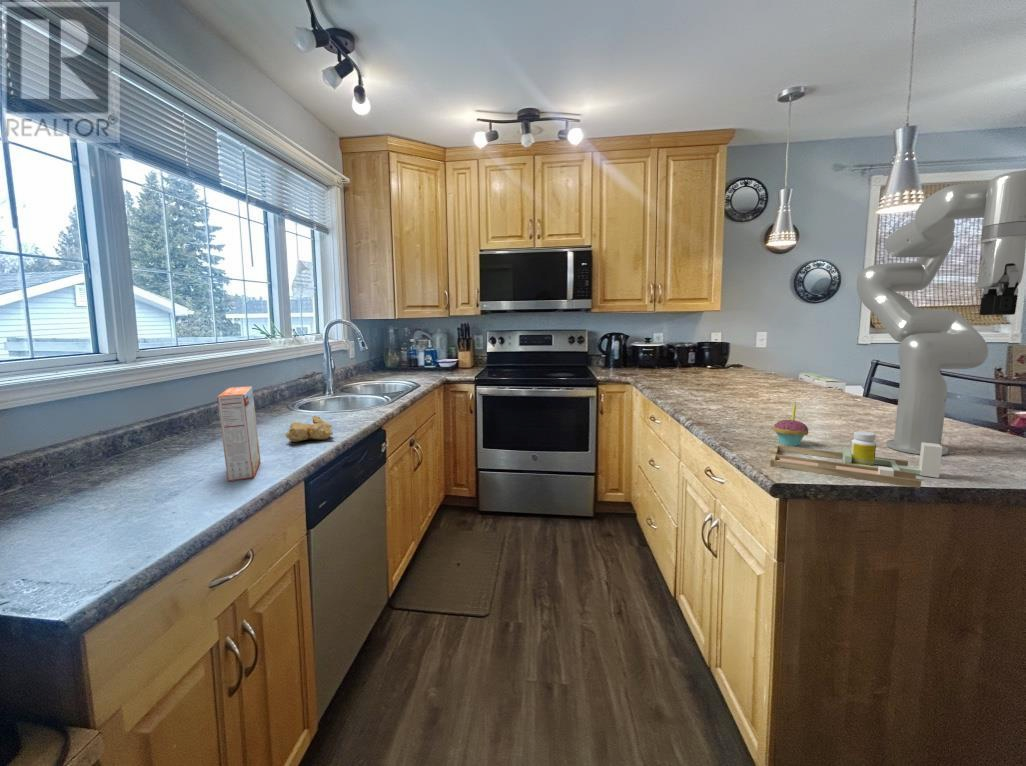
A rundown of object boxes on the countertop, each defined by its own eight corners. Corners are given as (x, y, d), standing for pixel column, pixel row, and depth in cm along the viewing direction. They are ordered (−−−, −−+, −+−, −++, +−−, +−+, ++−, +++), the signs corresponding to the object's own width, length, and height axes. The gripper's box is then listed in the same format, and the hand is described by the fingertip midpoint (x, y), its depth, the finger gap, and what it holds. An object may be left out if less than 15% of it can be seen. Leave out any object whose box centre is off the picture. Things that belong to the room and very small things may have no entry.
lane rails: (774, 449, 123) (775, 444, 123) (907, 466, 108) (907, 460, 108) (770, 466, 110) (770, 460, 110) (920, 487, 95) (921, 481, 94)
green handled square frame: (842, 458, 114) (844, 432, 113) (932, 470, 105) (936, 441, 104) (844, 468, 107) (846, 439, 106) (941, 481, 98) (945, 450, 97)
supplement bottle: (878, 470, 106) (881, 436, 105) (855, 469, 107) (858, 435, 106) (866, 464, 110) (870, 431, 109) (845, 463, 111) (848, 430, 110)
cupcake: (778, 438, 135) (781, 399, 133) (811, 444, 128) (814, 403, 127) (768, 444, 129) (771, 403, 127) (802, 450, 123) (805, 407, 121)
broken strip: (779, 461, 113) (780, 452, 113) (890, 477, 101) (891, 466, 101) (778, 466, 110) (779, 456, 109) (893, 482, 98) (894, 472, 98)
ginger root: (328, 441, 135) (320, 416, 134) (277, 455, 135) (269, 430, 134) (345, 430, 150) (338, 408, 150) (300, 443, 150) (292, 420, 149)
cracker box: (235, 465, 117) (227, 387, 115) (261, 462, 120) (253, 385, 117) (225, 482, 105) (215, 395, 102) (254, 478, 107) (245, 393, 104)
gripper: (971, 241, 104) (962, 315, 107) (994, 230, 90) (983, 315, 93) (1018, 237, 100) (1007, 314, 102) (1049, 225, 86) (1037, 314, 88)
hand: (996, 314), depth 98 cm, fingers open, 9 cm apart
